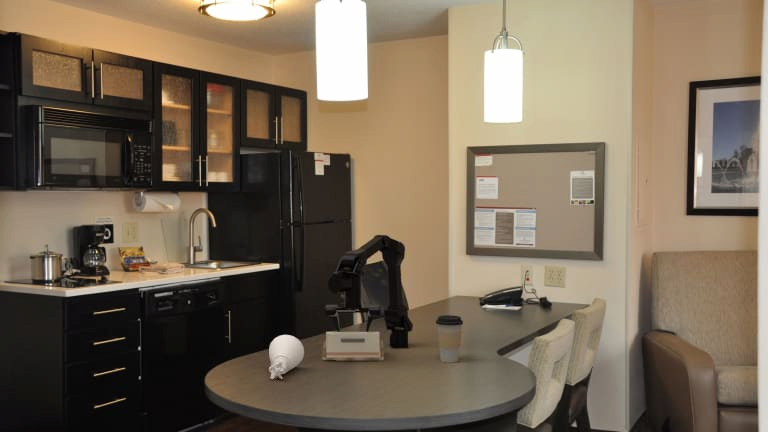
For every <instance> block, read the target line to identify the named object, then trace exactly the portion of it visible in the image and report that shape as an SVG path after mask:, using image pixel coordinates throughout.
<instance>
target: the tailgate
mask: <svg viewBox="0 0 768 432" xmlns="http://www.w3.org/2000/svg"><path fill="white" fill-rule="evenodd" d="M325 341H326V357H327V358H371V357H379V349H380V331H368V332H366V331H340V332H337V331H325Z"/></svg>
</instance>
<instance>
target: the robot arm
mask: <svg viewBox="0 0 768 432" xmlns="http://www.w3.org/2000/svg"><path fill="white" fill-rule="evenodd" d="M378 252H380V253H381V255H382V256H381V257H382V260H383V262H384V263H385V266H386V268H387V270H386V271H387V285H388V286H387V287H388V302H389V303H388V306H387V307H386V309H384V310H383V314H384V323H385V326H386V330H387V331H390V333H389V334H388V335H389V339H388V341H389V342H388V343H389V346H390V348H391V349H408V348H409V333H410V332H412V331H413V327H414V324H413V322H412V320H411V319H410V318H409V315H408V309H407V308H406V306H405V305H404V303H403V288H402V287H403V286H402V285H403V284H402V269H401V268H402V267H401V265H402V263H403V261H404V260H405V254H406V246H405V244H404V243H403V242H401V241H399V240H396V239H394V238H391V237H390V236H388V235H387V234H376V235H374V237H373V238H371V239H370V240H368V241H367V242H366V243H364V244H363V245H361V246H360V247H358V248H356V249H352V250H348V251H346V252H344V253H343V254H342V256H341V258H340V260H339V262H338V266H337V267H336V270H335V272H332V276H331V277H330V278H329V280H328V282H327V287H328V290H329V292H331V293H332V294H340V293H341V294H340V305H344V306H343V307H342V306H341V307H340V306H338V304H326V305H325V308H324V316H328V318H329V319H331V320H332V321H333V323H334V325H335V328H336V332H341V328H340V319H339V313H340V314H342V313H344V314H345V313H348V314H350V313H351V314H353V313H354V314H361V313H362V314H367V319H366V325H365V332H369V330H370V327H371V324H372V322H373V320H374V319H377V316H381V306H380V305H379V304H368V307H366V306H364V307H362V277H363V276H365V275H366V273H365V272H364V271H363V270H362V269H363V268H364V267H365V266H366V264H367V263H368V262H367V261H368V260H369V259H370V258H371V257H372V256H374V255H375V254H376V253H378Z"/></svg>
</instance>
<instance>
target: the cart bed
mask: <svg viewBox="0 0 768 432" xmlns="http://www.w3.org/2000/svg"><path fill="white" fill-rule="evenodd" d="M321 350H322V351H321V352H322V353H321V355H322V356H321V357H322V358H321V359H323V360H336V361H385V358H384V357H385V355H384V354H385V353H384V351H385V350H384V341H383V340H379V357H371V358H327V357H326V340H324V341H323V346H322V348H321Z"/></svg>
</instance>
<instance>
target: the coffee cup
mask: <svg viewBox="0 0 768 432" xmlns="http://www.w3.org/2000/svg"><path fill="white" fill-rule="evenodd" d="M435 324H436V325H437V338H438V339H437V340H438V348H439V357H440V361H441V362H443V363H456V362H459V354H460V347H461V342H462V341H461V340H462V332H463V331H462V326H463V324H464V321H463V319H462V317H461V316H459V315H452V314H451V315H446V314H445V315H439V316H437V319H436V320H435Z"/></svg>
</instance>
